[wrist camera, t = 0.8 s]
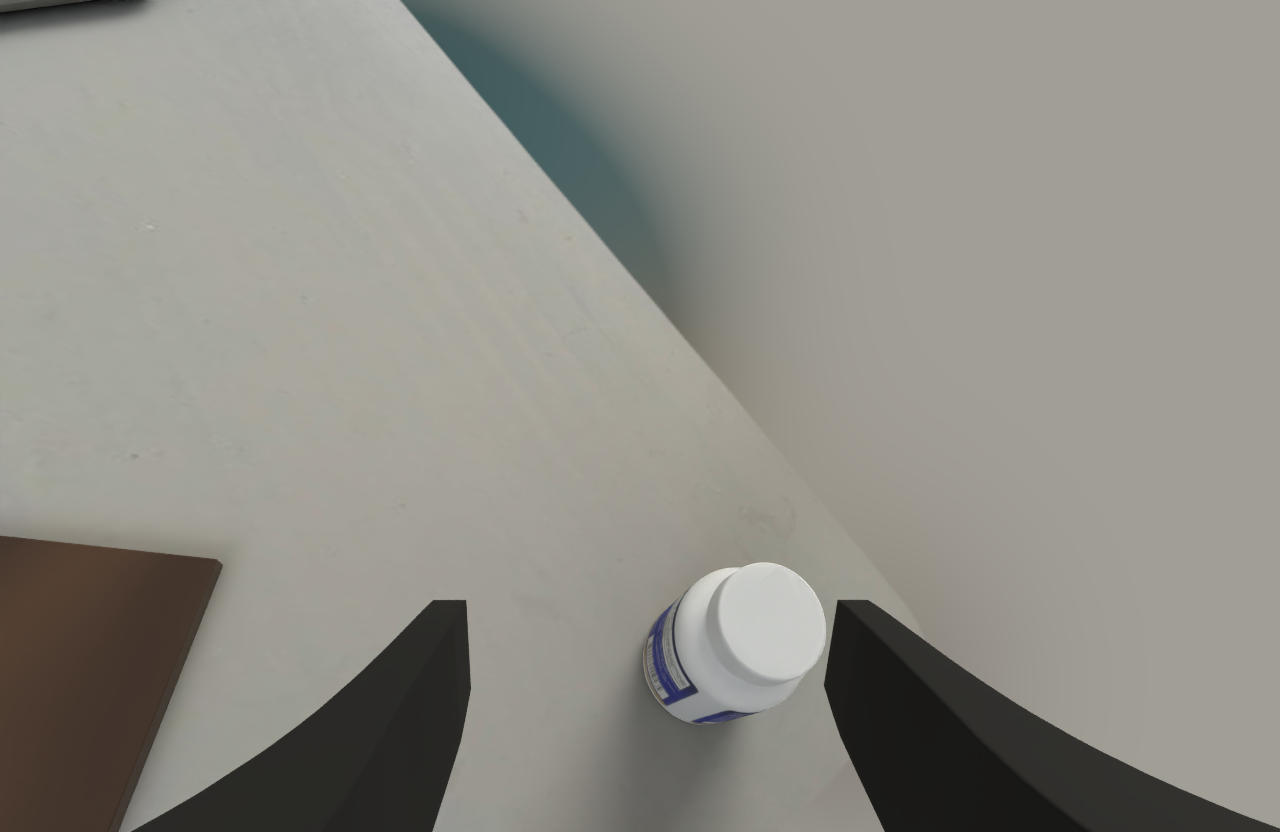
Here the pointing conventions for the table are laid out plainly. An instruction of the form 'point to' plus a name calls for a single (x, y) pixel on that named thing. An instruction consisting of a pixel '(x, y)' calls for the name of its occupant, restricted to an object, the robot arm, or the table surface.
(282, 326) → the table surface
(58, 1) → the decorative plate
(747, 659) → the pill bottle
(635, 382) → the table surface
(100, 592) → the corner board
